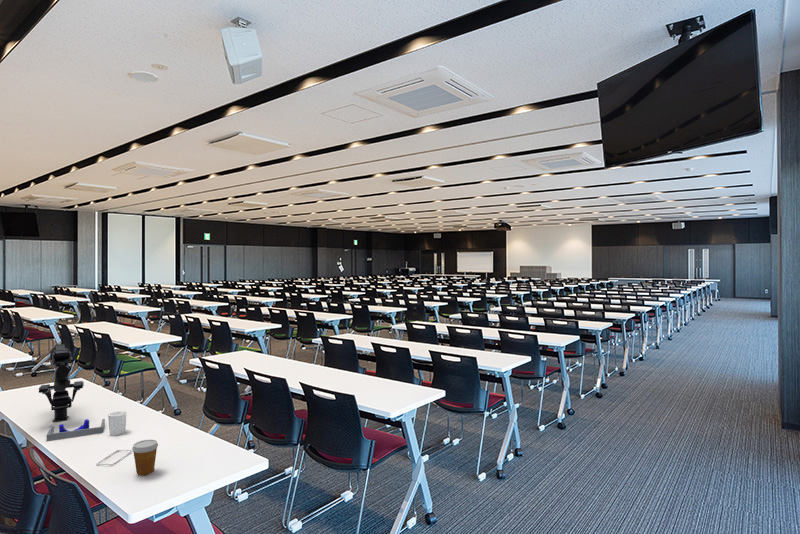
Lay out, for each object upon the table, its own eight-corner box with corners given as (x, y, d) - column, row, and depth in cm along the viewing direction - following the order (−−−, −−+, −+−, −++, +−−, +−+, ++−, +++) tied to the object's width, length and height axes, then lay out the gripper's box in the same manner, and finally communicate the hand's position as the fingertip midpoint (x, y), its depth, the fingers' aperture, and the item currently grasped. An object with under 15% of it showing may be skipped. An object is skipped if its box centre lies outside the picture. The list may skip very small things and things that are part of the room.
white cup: (130, 431, 240) (129, 412, 240) (115, 437, 233) (114, 417, 233) (119, 429, 244) (119, 410, 243) (104, 434, 236) (104, 414, 236)
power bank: (112, 467, 201) (133, 452, 216) (112, 464, 201) (133, 449, 216) (95, 467, 201) (117, 452, 216) (95, 463, 201) (117, 449, 216)
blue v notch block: (87, 430, 243) (87, 418, 243) (89, 432, 240) (89, 420, 240) (58, 435, 235) (58, 423, 235) (60, 438, 232) (60, 426, 232)
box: (51, 431, 240) (51, 425, 240) (104, 424, 251) (104, 418, 251) (46, 441, 228) (46, 435, 228) (102, 432, 239) (102, 426, 239)
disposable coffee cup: (138, 467, 199) (138, 439, 199) (162, 466, 200) (162, 438, 200) (127, 478, 190) (127, 448, 190) (152, 477, 191) (152, 447, 190)
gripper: (36, 379, 237) (36, 410, 237) (81, 374, 246) (81, 404, 246) (40, 374, 246) (41, 404, 247) (83, 370, 255) (83, 399, 256)
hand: (61, 403), depth 248 cm, fingers open, 9 cm apart
